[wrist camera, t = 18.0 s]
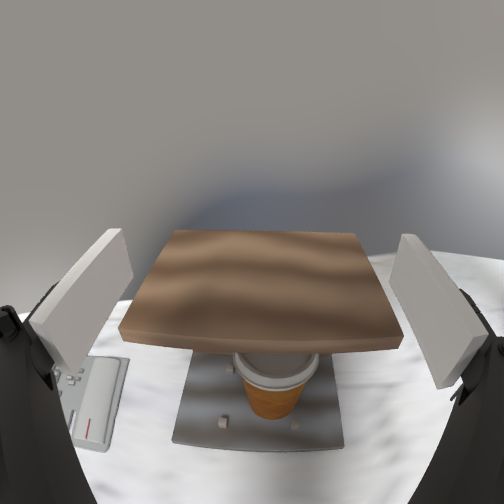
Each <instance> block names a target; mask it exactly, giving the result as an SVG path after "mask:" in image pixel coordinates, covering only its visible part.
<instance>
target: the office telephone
mask: <svg viewBox="0 0 504 504" xmlns="http://www.w3.org/2000/svg"><path fill="white" fill-rule="evenodd" d="M128 364H129V360H128V359H126V358H111V357H96V356H87V357H86V359H85V360H84V362H83V364H82V366H81V368H80V370H79V372H78V374H77V376H76V377H74V376H70V375H67V374H64V373H61V371H60V370H59V368H58V367H57V366H56V364H55V363H54V365H53V367H52V370H53V372H54V374H55V377H56V382H57V387H58V392H59V396H60V400H61V405H62V408H63V412H64V416H65V420H66V423H67V427H68V430H69V428H70V424H71V420H72V416H73V412H74V411H76V418H75V422H74V427H73V431H72V436H71V440H72V443H73V446H75V447H78V448H82V449H86V450H91V451H96V452H101V453H105V452H107V451H108V449H109V446H110V441H111V437H112V432H113V427H114V421H115V417H116V415H117V411H118V406H119V401H120V397H121V392H122V388H123V383H124V379H125V375H126V371H127V367H128Z"/></svg>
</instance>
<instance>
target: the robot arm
mask: <svg viewBox="0 0 504 504" xmlns="http://www.w3.org/2000/svg"><path fill="white" fill-rule="evenodd" d="M133 277H134V276H133V272H132V268H131V264H130V261H129V257H128V253H127V249H126V244H125V240H124V236H123V232H122V229H108V230H107V231H106V232H105V233H104V234H103V235H102V236H101V237H100V238H99V239H98V240H97V241H96V243H94V244H93V245H92V246H91V248H90V249H89V250H88V251H87V252H86V253H85V254H84V255H83V256H82V257H81V258H80V259H79V260H78V261H77V263H76V264H75V265H74V266H73V267H72V268H71V269H70V270H69V272H68V273H67V274H66V275H65V276H64V277H63V278H62V280H60V281H59V282H58V283H56V284H55V285H53V286H52V287H51V288H50V289H49V291H48V292H47V293H46V294H45V296H44V297H43V298H42V299H41V300H40V303H38V304H37V305H36V306H35V308H34V309H33V310H32V311H31V313H30V314H29V315H28V317H27V318H26V319H25V321H24V322H23V323H22V322H21V320H20V319H19V317H18V315H17V313H16V311H15V310H14V308H13V307H12V306H9V305H6V306H2V307H0V504H97V502H96V500H95V498H94V495H93V493H92V491H91V489H90V487H89V484H88V482H87V480H86V477H85V475H84V473H83V470H82V468H81V465H80V462H79V460H78V457H77V454H76V451H75V449H74V446H73V443H72V440H71V436H70V433H69V430H68V427H67V423H66V420H65V416H64V412H63V408H62V405H61V400H60V396H59V392H58V387H57V382H56V377H55V374H54V372H53V370H52V367H53V365H54V363H55V364H56V366H57V367H58V368H59V370H60V371H61V373H64V374H67V375H70V376H74V377H76V376H77V374H78V372H79V370H80V368H81V366H82V364H83V362H84V360H85V359H86V357H87V355H88V353H89V351H90V349H91V347H92V346H93V344H94V342H95V340H96V338H97V337H98V335H99V333H100V331H101V329H102V328H103V326H104V324H105V322H106V321H107V319H108V317H109V316H110V314H111V312H112V311H113V309H114V307H115V306H116V304H117V302H118V301H119V299H120V297H121V296H122V294H123V292H124V291H125V289H126V287H127V286H128V284H129V283H130V281H131V280H132V278H133ZM389 283H390V285H391V287H392V289H393V291H394V293H395V295H396V297H397V299H398V301H399V303H400V305H401V307H402V309H403V311H404V313H405V315H406V317H407V319H408V321H409V324H410V326H411V328H412V330H413V332H414V334H415V337H416V339H417V341H418V343H419V346H420V348H421V350H422V353H423V355H424V357H425V360H426V362H427V365H428V367H429V370H430V372H431V375H432V377H433V380H434V382H435V385H436V388H437V390H438V389H442V388H447V387H451V386H453V385H454V384H455V382H456V381H457V380H458V378H459V377H460V376H461V378H462V380H463V383H462V385H461V386H460V387H459V388H458V390H457V391H456V392H455V393H454V394H453V396H452V397H451V399H450V401H452V400H453V399H454V398H455V397H456V396H457V397H456V400H455V403H454V406H453V409H452V412H451V414H450V417H449V420H448V423H447V425H446V428H445V430H444V433H443V435H442V438H441V440H440V442H439V445H438V447H437V449H436V451H435V453H434V456H433V458H432V460H431V462H430V464H429V466H428V468H427V470H426V472H425V474H424V476H423V478H422V480H421V481H420V483H419V485H418V487H417V489H416V490H415V492H414V494H413V495H412V497H411V499H410V500H409V502H408V504H504V337H502V336H501V337H497V336H496V335H495V333H494V331H493V330H492V328H491V327H490V325H489V323H488V322H487V320H486V319H485V317H484V316H483V314H482V313H480V312H481V311H480V310H479V308H478V307H477V306H476V304H475V303H474V301H473V300H472V298H471V297H470V296H469V295H468V294H467V293H465V292H464V291H463V290H462V289H458V287H457V286H456V284H455V283H454V282H453V280H452V279H451V278H450V276H449V275H448V274H447V272H446V271H445V270H444V269H443V267H442V266H441V265H440V263H439V262H438V261H437V260H436V258H435V257H434V256H433V255H432V254H431V252H430V251H429V250H428V249H427V248H426V246H425V245H424V244H423V243H422V242H421V240H420V239H419V238H418V237H417V236H416V235H415V234H402V236H401V240H400V244H399V248H398V251H397V255H396V259H395V263H394V266H393V270H392V273H391V277H390V280H389Z"/></svg>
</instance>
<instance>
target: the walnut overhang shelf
mask: <svg viewBox="0 0 504 504" xmlns="http://www.w3.org/2000/svg"><path fill="white" fill-rule="evenodd" d="M118 330H119V332H120V334H121V337H122V339H123V341H126V342H133V343H140V344H147V345H155V346H163V347H172V348H182V349H192V350H193V354H192V358H191V362H190V366H189V370H188V374H187V378H186V382H185V386H184V390H183V394H182V398H181V402H180V406H179V410H178V414H177V419H176V423H175V427H174V431H173V436H172V442H173V443H177V444H183V445H189V446H196V447H204V448H213V449H223V450H235V451H252V452H304V451H321V450H333V449H342V448H343V447H344V439H343V431H342V423H341V416H340V409H339V402H338V395H337V388H336V382H335V376H334V369H333V363H332V358H331V354H332V353H348V352H365V351H378V350H389V349H398V348H399V345H400V343H401V341H402V339H403V337H404V334H403V332H402V330H401V327H400V325H399V323H398V320H397V318H396V316H395V314H394V312H393V309H392V307H391V305H390V303H389V301H388V298H387V296H386V294H385V292H384V290H383V288H382V286H381V284H380V282H379V280H378V278H377V276H376V274H375V272H374V270H373V268H372V266H371V264H370V262H369V260H368V258H367V256H366V254H365V252H364V250H363V249H362V247H361V245H360V243H359V241H358V240H357V238H356V236H355V234H354V233H328V232H327V233H326V232H290V231H238V230H237V231H236V230H230V231H229V230H175V231H174V233H173V234H172V236H171V237H170V239H169V241H168V242H167V244H166V245H165V247H164V248H163V250H162V252H161V253H160V255H159V257H158V258H157V260H156V262H155V263H154V265H153V267H152V268H151V270H150V272H149V273H148V275H147V277H146V278H145V280H144V282H143V284H142V285H141V287H140V289H139V291H138V292H137V294H136V296H135V298H134V299H133V301H132V303H131V305H130V307H129V308H128V310H127V312H126V314H125V316H124V318H123V319H122V321H121V323H120V325H119V327H118ZM233 352H235V353H260V354H319V363H318V366H317V369H316V370H315V372H314V374H313V375H312V376H311V377H310V378H309V379H308V380H307V382H306V384H305V386H304V388H303V390H302V392H301V394H300V396H299V398H298V400H297V402H296V404H295V406H294V408H293V410H292V411H291V412H290V413H289V414H288V415H287V416H285V417H283V418H281V419H276V420H269V419H264V418H261V417H259V416H258V415H256V414H255V413H254V412H253V410H252V409H251V407H250V403H249V400H248V397H247V394H246V391H245V387H244V384H243V381H242V377H241V375H240V374H239V373H238V371H237V369H236V367H235V365H234V362H233Z"/></svg>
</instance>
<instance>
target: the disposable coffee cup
mask: <svg viewBox="0 0 504 504" xmlns="http://www.w3.org/2000/svg"><path fill="white" fill-rule="evenodd" d="M233 362H234V365H235V367H236V369H237V371H238V373H239V374H240V375H241V377H242V381H243V384H244V387H245V391H246V394H247V397H248V400H249V403H250V407H251V409H252V410H253V412H254V413H255V414H256V415H258V416H259V417H261V418H264V419H269V420H276V419H281V418H283V417H285V416H287V415H288V414H289V413H290V412H291V411H292V410H293V408H294V406H295V404H296V402H297V400H298V398H299V396H300V394H301V392H302V390H303V388H304V386H305V384H306V382H307V380H308V379H309V378H310V377H311V376H312V375H313V374H314V372H315V370H316V369H317V366H318V363H319V354H260V353H235V352H233Z"/></svg>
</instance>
